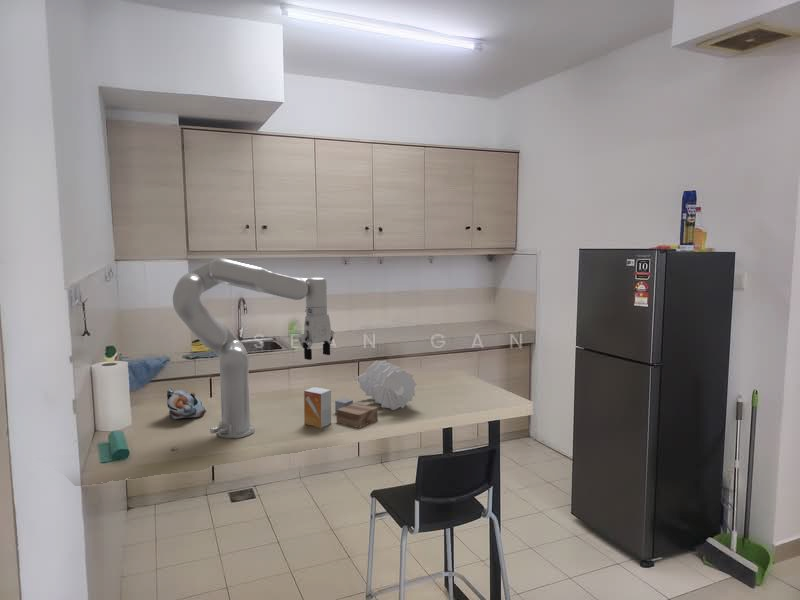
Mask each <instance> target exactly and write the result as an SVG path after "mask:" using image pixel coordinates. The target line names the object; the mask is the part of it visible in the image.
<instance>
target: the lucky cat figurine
mask: <svg viewBox="0 0 800 600" xmlns="http://www.w3.org/2000/svg"><path fill="white" fill-rule="evenodd" d="M166 392H167V393H166V397H167V398H166V399H167V401H166V403H167V408H168V410H169V412H168V414H169V417H170V418H172V419H173V420H174V421H175V420H179V419H186V418H202V417H204V415H205V413H207V409H206V408H205V406H203V405H202V401H201V400H200V399H199V398H197V397H196V394H195V393H194V392H193V391H192V392H191V393H189V392H187V391H186V390H184V389H176V390H174V391H173V389H172V388H170V389H167V391H166Z"/></svg>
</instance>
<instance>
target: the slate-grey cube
mask: <svg viewBox="0 0 800 600" xmlns="http://www.w3.org/2000/svg"><path fill="white" fill-rule="evenodd" d="M334 401H335V402H334V403H335V404H334V409H335V410H334V411H335V412H334V413H336V414H337V409H340V408H342V407H345V406H348V405H351V404H353V403H354V400H353V399H349V398H345V397H343V398H339V399H336V400H334Z"/></svg>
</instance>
